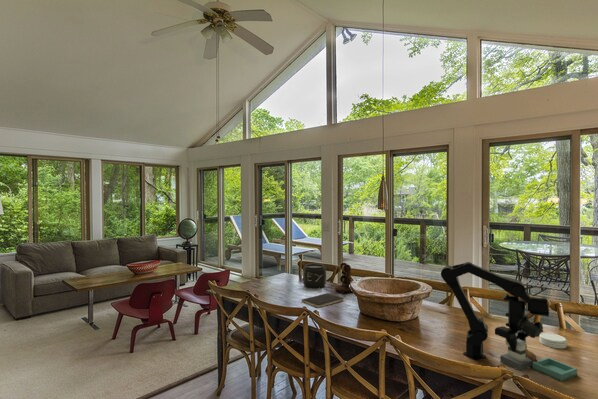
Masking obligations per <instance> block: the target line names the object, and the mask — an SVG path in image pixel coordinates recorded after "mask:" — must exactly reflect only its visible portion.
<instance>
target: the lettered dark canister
mask: <svg viewBox="0 0 598 399" xmlns="http://www.w3.org/2000/svg"><path fill="white" fill-rule="evenodd" d="M302 270H303V271H302V280H303V281H302V284H303V285H304V287H305V288H306V289H314V290H317V289H322V288H325V287H326V285H327V281H326V280H327V272H326V271H327V267H326V266H325V265H324V264H321V263H307V264H305V265H304V266H303V267H302Z"/></svg>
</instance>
